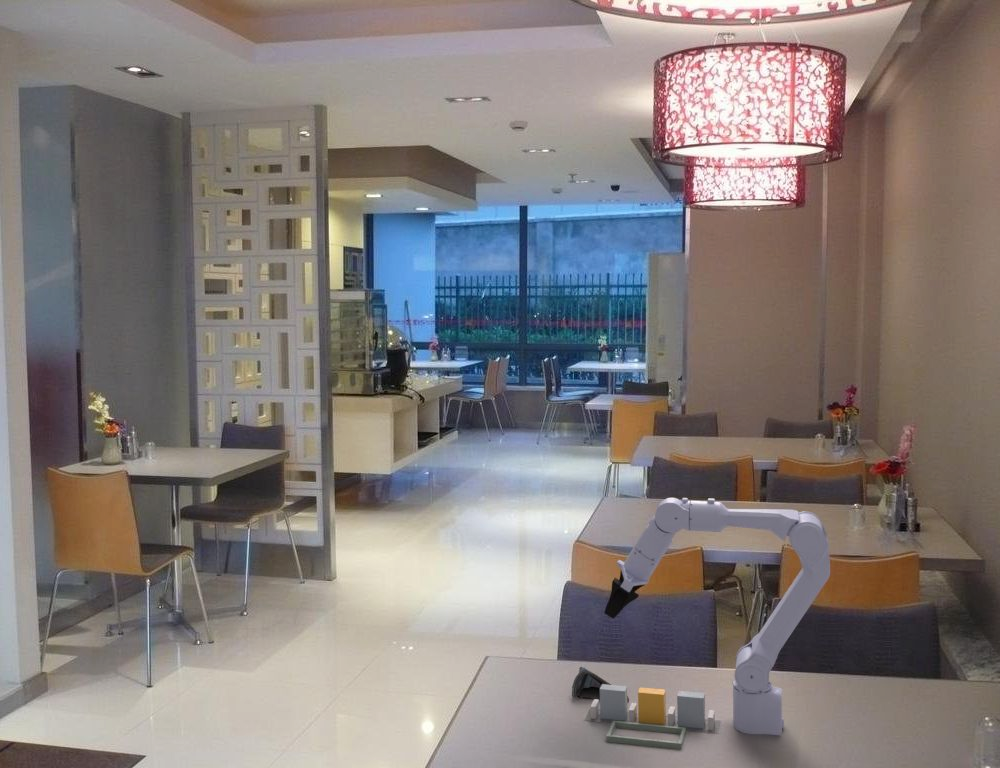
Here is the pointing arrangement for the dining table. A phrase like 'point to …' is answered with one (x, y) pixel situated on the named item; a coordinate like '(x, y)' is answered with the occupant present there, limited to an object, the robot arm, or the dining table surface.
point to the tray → (643, 741)
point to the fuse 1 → (613, 702)
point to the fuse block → (671, 720)
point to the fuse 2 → (691, 709)
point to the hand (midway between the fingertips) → (612, 609)
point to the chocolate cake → (586, 682)
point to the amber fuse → (652, 705)
